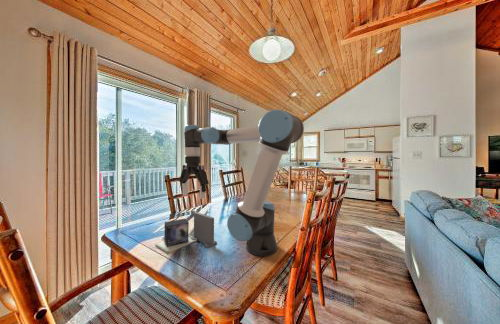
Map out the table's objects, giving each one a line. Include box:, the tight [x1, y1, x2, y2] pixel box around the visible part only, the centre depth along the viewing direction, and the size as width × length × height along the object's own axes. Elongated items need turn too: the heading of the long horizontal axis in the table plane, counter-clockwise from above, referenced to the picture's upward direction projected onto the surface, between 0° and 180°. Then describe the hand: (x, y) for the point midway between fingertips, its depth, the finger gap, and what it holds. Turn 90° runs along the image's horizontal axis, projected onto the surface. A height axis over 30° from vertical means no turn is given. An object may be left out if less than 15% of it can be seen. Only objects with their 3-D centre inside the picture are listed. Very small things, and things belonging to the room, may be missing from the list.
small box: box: [163, 218, 190, 247], centre depth 99 cm, size 11×6×10 cm, turn 124°
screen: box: [191, 211, 218, 249], centre depth 101 cm, size 14×6×14 cm, turn 52°
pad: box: [154, 234, 198, 254], centre depth 99 cm, size 11×17×1 cm, turn 142°
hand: (193, 196), depth 101 cm, fingers open, 13 cm apart
